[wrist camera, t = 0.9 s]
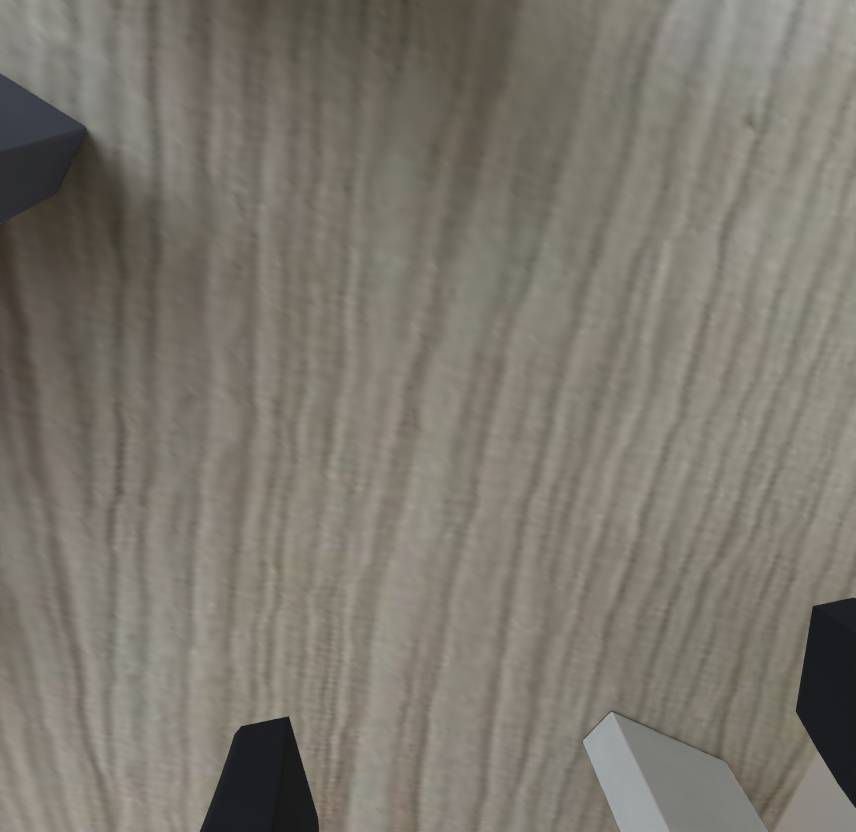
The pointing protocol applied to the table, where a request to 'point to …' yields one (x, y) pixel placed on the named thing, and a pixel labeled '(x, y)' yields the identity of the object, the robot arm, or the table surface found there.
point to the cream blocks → (665, 782)
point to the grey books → (32, 148)
